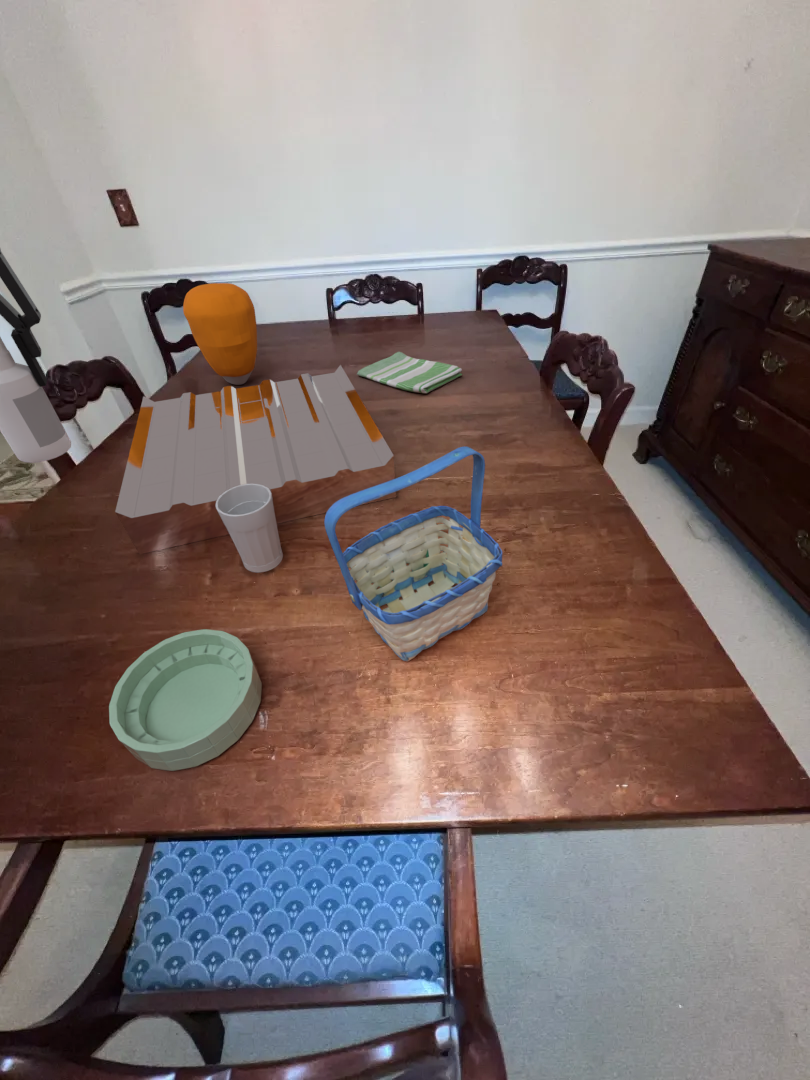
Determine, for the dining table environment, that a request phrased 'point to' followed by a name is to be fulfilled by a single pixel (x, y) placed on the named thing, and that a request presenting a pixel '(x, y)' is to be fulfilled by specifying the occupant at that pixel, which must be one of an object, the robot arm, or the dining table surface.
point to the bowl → (186, 699)
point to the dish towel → (410, 373)
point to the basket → (419, 563)
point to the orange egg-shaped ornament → (224, 328)
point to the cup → (252, 525)
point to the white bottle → (28, 414)
